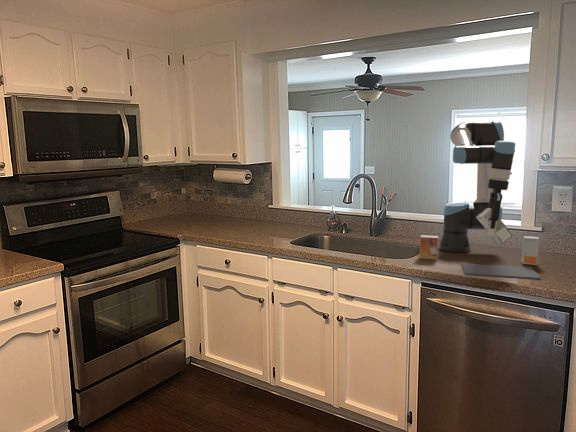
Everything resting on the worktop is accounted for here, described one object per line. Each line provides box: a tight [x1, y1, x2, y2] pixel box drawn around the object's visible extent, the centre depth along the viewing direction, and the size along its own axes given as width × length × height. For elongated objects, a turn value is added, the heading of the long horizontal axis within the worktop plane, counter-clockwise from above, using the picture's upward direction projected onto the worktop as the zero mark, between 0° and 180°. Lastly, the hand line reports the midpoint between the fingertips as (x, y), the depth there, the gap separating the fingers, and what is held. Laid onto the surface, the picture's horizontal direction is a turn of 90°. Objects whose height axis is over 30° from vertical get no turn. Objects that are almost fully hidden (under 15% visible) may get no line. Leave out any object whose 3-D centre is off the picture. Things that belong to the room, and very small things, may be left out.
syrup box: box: [476, 208, 514, 245], centre depth 194 cm, size 6×6×14 cm
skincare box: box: [520, 235, 540, 266], centre depth 207 cm, size 6×4×12 cm
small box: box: [418, 234, 439, 261], centre depth 219 cm, size 8×6×10 cm
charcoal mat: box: [461, 263, 542, 280], centre depth 196 cm, size 16×28×1 cm, turn 74°
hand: (489, 234), depth 195 cm, fingers closed on syrup box, 7 cm apart
